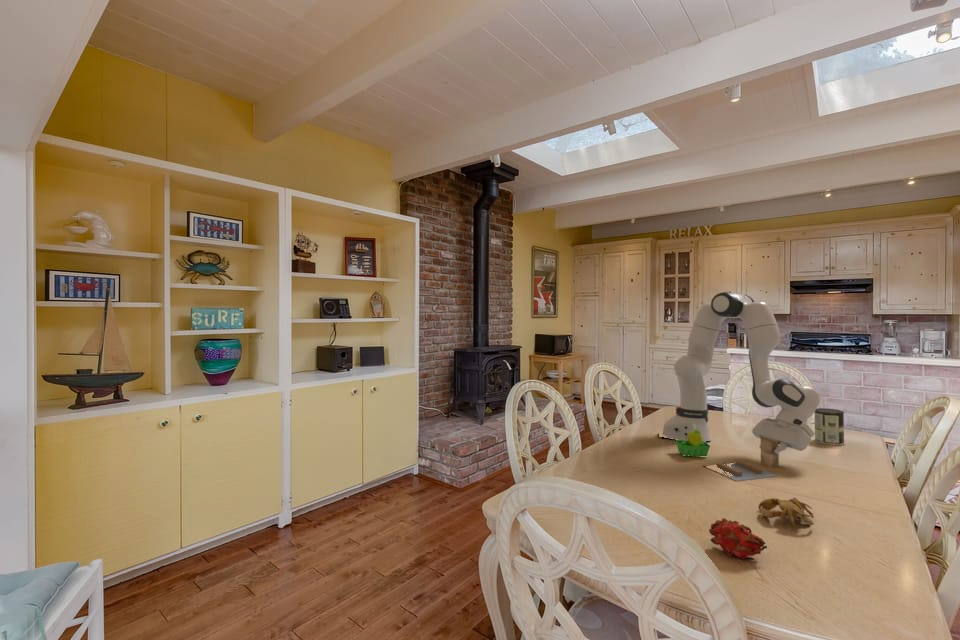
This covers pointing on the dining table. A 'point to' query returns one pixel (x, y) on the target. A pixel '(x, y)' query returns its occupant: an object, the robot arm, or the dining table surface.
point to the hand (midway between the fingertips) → (768, 450)
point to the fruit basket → (693, 445)
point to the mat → (744, 471)
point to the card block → (769, 452)
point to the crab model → (786, 510)
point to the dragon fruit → (736, 539)
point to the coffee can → (829, 426)
